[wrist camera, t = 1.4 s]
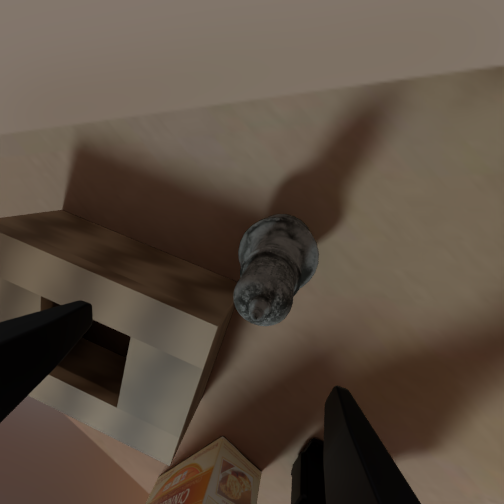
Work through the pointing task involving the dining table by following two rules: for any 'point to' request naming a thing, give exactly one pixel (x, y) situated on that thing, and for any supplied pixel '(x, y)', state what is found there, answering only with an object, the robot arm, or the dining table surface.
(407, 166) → the dining table surface
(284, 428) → the dining table surface
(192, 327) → the beige rectangular hollow block
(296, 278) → the grey chess piece
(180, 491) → the coffeecake box
